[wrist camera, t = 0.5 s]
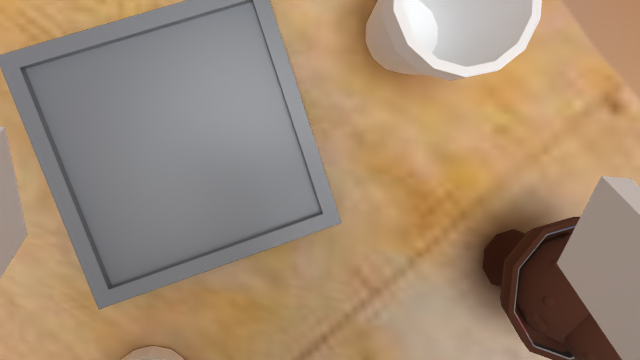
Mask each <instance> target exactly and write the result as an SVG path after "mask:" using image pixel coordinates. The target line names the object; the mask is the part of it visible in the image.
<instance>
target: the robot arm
mask: <svg viewBox="0 0 640 360" xmlns="http://www.w3.org/2000/svg"><path fill="white" fill-rule="evenodd" d="M26 236H27V229H26V225H25V220H24V215H23V210H22V206H21V201H20V196H19V191H18V186H17V182H16V177H15V172H14V167H13V163H12V158H11V153H10V148H9V143H8V139H7V134H6V129H5V127H0V278H1V276H2V275H3V273H4V271H5V270H6V268H7V267H8V265H9V263H10V262H11V260H12V259H13V257H14V255H15V254H16V252H17V250H18V249H19V247H20V246H21V244H22V242H23V241H24V239H25V238H26ZM557 265H558V266H559V268H560V269H561V270H562V272H563V273H564V275H565V276H566V278H567V279H568V281H569V282H570V284H571V285H572V287H573V288H574V290H575V291H576V293H577V294H578V296H579V297H580V299H581V300H582V301H583V303H584V304H585V306H586V307H587V309H588V310H589V312H590V313H591V315H592V316H593V318H594V319H595V321H596V322H597V324H598V325H599V327H600V328H601V329H602V331H603V332H604V334H605V335H606V337H607V338H608V340H609V341H610V343H611V344H612V346H613V347H614V349H615V350H616V352H617V353H618V355H619V356H620V358H621V359H622V360H640V187H639V186H638V185H637V184H636V183H635V182H634V181H633V180H632V179H630V178H618V177H605V176H601V178H600V180H599V182H598V184H597V186H596V188H595V190H594V192H593V194H592V196H591V198H590V200H589V202H588V203H587V205H586V207H585V209H584V211H583V213H582V215H581V217H580V219H579V221H578V223H577V225H576V227H575V229H574V231H573V233H572V235H571V237H570V239H569V240H568V242H567V244H566V246H565V248H564V250H563V252H562V254H561V256H560V258H559V260H558V262H557Z"/></svg>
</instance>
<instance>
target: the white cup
mask: <svg viewBox="0 0 640 360" xmlns="http://www.w3.org/2000/svg"><path fill="white" fill-rule="evenodd" d="M121 360H185V359H184V358H182V357H181V356H180V355H178V354H177V353H176V352H174V351H173V350H172V349H167V348H163V347H158V346H149V347H145V348H140V349H136V350H134V351H132V352H131V353H129V354H128V355H127V356H125V357H124V358H123V359H121Z"/></svg>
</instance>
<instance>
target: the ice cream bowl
mask: <svg viewBox="0 0 640 360" xmlns="http://www.w3.org/2000/svg"><path fill="white" fill-rule="evenodd" d="M579 219H580V217H572V218H569V219H565V220H562V221H558V222H555V223H551V224H548V225H544V226H541V227H537V228H534V229H532V230H530V231H528V232H527V234H524V233H522V232H519V231H517V230H511V231H507V232H504V233H500V234H497V235H496V236H495V237H494V239H493V240H492V241H491V242H490V243H489V245H488V246H487V247H486V248H485V251H484V261H483V269H484V271H485V273H486V274H487V276H488V278H489V280H490V281H491V283H492V284H494V285H497V286H500V287H501V295H500V300H501V306H502V307H503V309H504V311H505V313H506V314H507V316H508V318H509V320H510V321H511V323H512V325H513V326H514V328H515V330H516V332H517V333H518V335H519V337H520V339H521V340H522V342H523V343H524V344H525V346H526V347H527V348H528V350H529V351H530V352H533V353H536V354H538V355H541V356H544V357H547V358H549V359H552V360H622V359H621V358H620V356H619V355H618V353H617V352H616V350H615V349H614V347H613V346H612V344H611V343H610V341H609V340H608V338H607V337H606V335H605V334H604V332H603V331H602V329H601V328H600V327H599V325H598V324H597V322H596V321H595V319H594V318H593V316H592V315H591V313H590V312H589V310H588V309H587V307H586V306H585V304H584V303H583V301H582V300H581V299H580V297H579V296H578V294H577V293H576V291H575V290H574V288H573V287H572V285H571V284H570V282H569V281H568V279H567V278H566V276H565V275H564V273H563V272H562V270H561V269H560V268H559V266H558V265H557V262H558V260H559V258H560V256H561V254H562V252H563V250H564V248H565V246H566V244H567V242H568V240H569V239H570V237H571V235H572V233H573V231H574V229H575V227H576V225H577V223H578V221H579Z"/></svg>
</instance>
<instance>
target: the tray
mask: <svg viewBox="0 0 640 360" xmlns="http://www.w3.org/2000/svg"><path fill="white" fill-rule="evenodd" d="M0 67H1V70H2V72H3V75H4V77H5V80H6V82H7V85H8V87H9V90H10V92H11V94H12V97H13V99H14V102H15V104H16V107H17V109H18V112H19V114H20V117H21V119H22V122H23V124H24V127H25V129H26V131H27V134H28V136H29V139H30V141H31V144H32V146H33V149H34V151H35V154H36V156H37V159H38V161H39V163H40V166H41V168H42V171H43V173H44V176H45V178H46V181H47V183H48V186H49V188H50V191H51V193H52V196H53V198H54V200H55V203H56V205H57V208H58V210H59V213H60V215H61V218H62V220H63V223H64V225H65V228H66V230H67V232H68V235H69V237H70V240H71V242H72V245H73V247H74V250H75V252H76V255H77V257H78V260H79V262H80V264H81V267H82V269H83V272H84V274H85V277H86V279H87V282H88V284H89V287H90V289H91V292H92V294H93V297H94V299H95V301H96V304H97V306H98V309H102V308H105V307H107V306H110V305H113V304H116V303H119V302H121V301H124V300H127V299H130V298H133V297H135V296H138V295H141V294H144V293H147V292H149V291H152V290H155V289H158V288H161V287H163V286H166V285H169V284H172V283H175V282H177V281H180V280H183V279H186V278H189V277H192V276H194V275H197V274H200V273H203V272H206V271H208V270H211V269H214V268H217V267H220V266H222V265H225V264H228V263H231V262H234V261H236V260H239V259H242V258H245V257H248V256H250V255H253V254H256V253H259V252H262V251H264V250H267V249H270V248H273V247H276V246H278V245H281V244H284V243H287V242H290V241H292V240H295V239H298V238H301V237H304V236H306V235H309V234H312V233H315V232H318V231H320V230H323V229H326V228H329V227H332V226H334V225H337V224H340V223H341V220H340V217H339V214H338V210H337V207H336V204H335V201H334V198H333V195H332V192H331V189H330V186H329V183H328V180H327V176H326V173H325V170H324V167H323V164H322V161H321V158H320V155H319V152H318V149H317V146H316V143H315V139H314V136H313V133H312V130H311V127H310V124H309V121H308V118H307V115H306V112H305V109H304V105H303V102H302V99H301V96H300V93H299V90H298V87H297V84H296V81H295V78H294V75H293V72H292V68H291V65H290V62H289V59H288V56H287V53H286V50H285V47H284V44H283V41H282V38H281V34H280V31H279V28H278V25H277V22H276V19H275V16H274V13H273V10H272V7H271V4H270V1H269V0H186V1H183V2H180V3H176V4H173V5H169V6H166V7H162V8H159V9H156V10H152V11H149V12H145V13H142V14H138V15H135V16H132V17H128V18H125V19H121V20H118V21H115V22H111V23H108V24H104V25H101V26H97V27H94V28H91V29H87V30H84V31H80V32H77V33H74V34H70V35H67V36H63V37H60V38H56V39H53V40H50V41H46V42H43V43H39V44H36V45H33V46H29V47H26V48H22V49H19V50H15V51H12V52H9V53H5V54H2V55H0Z"/></svg>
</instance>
